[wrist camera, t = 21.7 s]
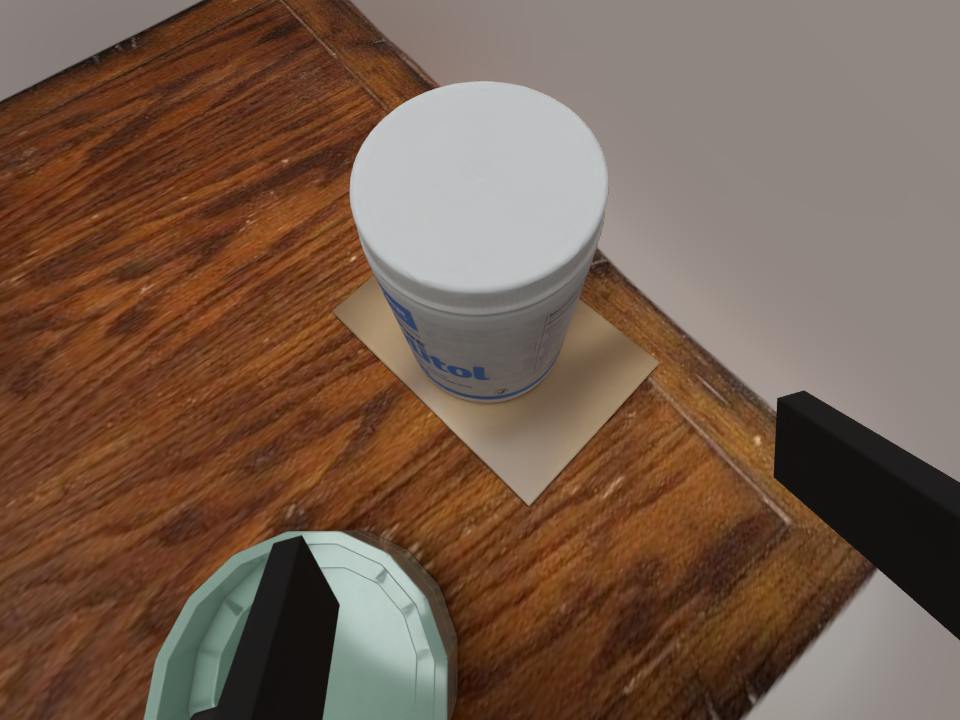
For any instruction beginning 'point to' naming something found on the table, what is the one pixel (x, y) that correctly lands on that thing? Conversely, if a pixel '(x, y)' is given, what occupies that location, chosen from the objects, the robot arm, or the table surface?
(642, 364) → the mat
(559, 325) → the supplement tub
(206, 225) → the table surface
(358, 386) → the table surface
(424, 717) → the bowl
